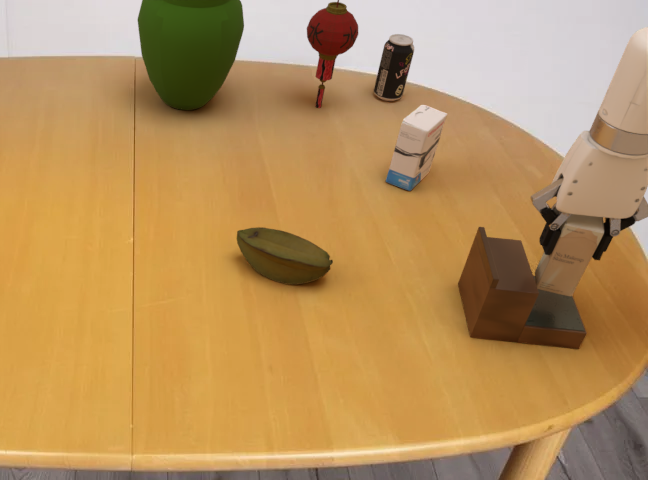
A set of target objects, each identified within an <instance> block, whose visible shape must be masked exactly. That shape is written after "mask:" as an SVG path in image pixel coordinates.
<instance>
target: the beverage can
mask: <svg viewBox="0 0 648 480" xmlns="http://www.w3.org/2000/svg"><path fill="white" fill-rule="evenodd" d="M414 52H415V46H414V39H413V38H412V37H411V36H409V35H407V34H401V33H395V34H392V35H390V36H389V37H388V40H386V42H385V43H384V45H383V50H382V54H381V58H380V62H379V66H378V71H377V75H376V78H375V84H374V87H373V93H374V95H375V96H376V97H377V98H378V99H380V100H382V101H386V102H394V101H398V100H400V99H401V98H402V97H403V95H404V91H405V88H406V84H407V81H408V76H409V72H410V69H411V64H412V60H413V57H414Z"/></svg>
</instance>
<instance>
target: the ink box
mask: <svg viewBox="0 0 648 480" xmlns="http://www.w3.org/2000/svg"><path fill="white" fill-rule="evenodd" d="M447 117H448V113H447V112H445V111H442V110H439V109H436V108H434V107H431V106H429V105H426V104H420V105H419V106H418V107H417V108H416V109H414V110H413V111H412V112H410V114H408V115H406V116H405V117H404V118H403V119H402V122H401V124H400V127H399V130H398V135H397V139H396V142H395V146H394V150H393V153H392V157H391V161H390V164H389V168H388V172H387V175H386V178H385V183H387V184H389V185H392V186H395V187H397V188H400V189H403V190H406V191H408V192H411V191H412V190H413V189H414V188H415V187H416V186H417V185H418V184H419V183H420V182H421V181H422V180H423V179H424V178H425V177H426V176H427V175H428V174H429V173H430V171H431V168H432V165H433V162H434V159H435V156H436V152H437V149H438V145H439V142H440V139H441V136H442V133H443V130H444V126H445V123H446V120H447Z"/></svg>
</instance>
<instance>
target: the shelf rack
mask: <svg viewBox="0 0 648 480" xmlns="http://www.w3.org/2000/svg"><path fill="white" fill-rule="evenodd" d="M528 259H529V258H528V256H527V253H526V250H525V247H524V244H523V241H522V240H520V239H513V238H512V239H511V238H504V237H503V238H502V237H492V236H487V232H486V228H485V226H478V228H477V230H476V233H475V235H474V239H473V241H472V245H471V247H470V250H469V252H468V255H467V258H466V261H465V263H464V265H463V269H462V271H461V274H460V277H459V278H458V279H459V280H458V282H457V287H458V291H459V295H460V300H461V305H462V308H463V312H464V317H465V322H466V325H467V329H468V333H469V338H472V339H473V338H474V339H481V340H493V341H501V342H510V343H518V344H527V345H537V346H547V347H557V348H565V349H574V350H580V348H581V346H582V344H583V342H584V340H585V338H586V337H587V334H588V332H587V329H586V327H585V325H584V322H583V319H582V317H581V316H582V315H581V314H580V311H579V308H578V306H577V303H576V301H575V298H574V294H573V295H572V296H571V297H570V296H566V295H561V294H557V293H553V292H549V291H544V290H540V289H537V286H536V283H535V275H534V274H533V272H532V268H531V266H530V262H529V260H528Z"/></svg>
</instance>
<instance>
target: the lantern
mask: <svg viewBox="0 0 648 480" xmlns="http://www.w3.org/2000/svg"><path fill="white" fill-rule="evenodd" d="M358 36H359V24H358V22H357V20H356V18H355V15H354V14H353V13H351V12H350V11H348V8H347V5H346V4H345V3H343V2H341V1H340V0H337V1H332V2H328V4H327V6H326V7H324V8H321V9H318V11H316V13H315V14H313V15H312V16H311V18H310V19H309V22H308V23H307V26H306V37H307V42H308V43H309V44H310V46H311V48H312V50H314V51H316V52H317V54H318V61H317V66H316V71H315V78H316V79H317V80H319V81H320V82H321V83H320V84H319V85H318V89H317V95H316V98H315V99H316V100H315V104H314V107H315V108H317V109H320V108H322V106H323V100H324V96H325V95H324V94H325V89H326V86H325V84H324V83H326V82H328V81H330V80H332V79H333V74H334V69H335V65H336V61H337V58H338V56H339V55H343V54H344V53H347V52H348V51H349V50H350V49H351V48H353V47H354V44H355V43H356V41H357V39H358Z"/></svg>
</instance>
